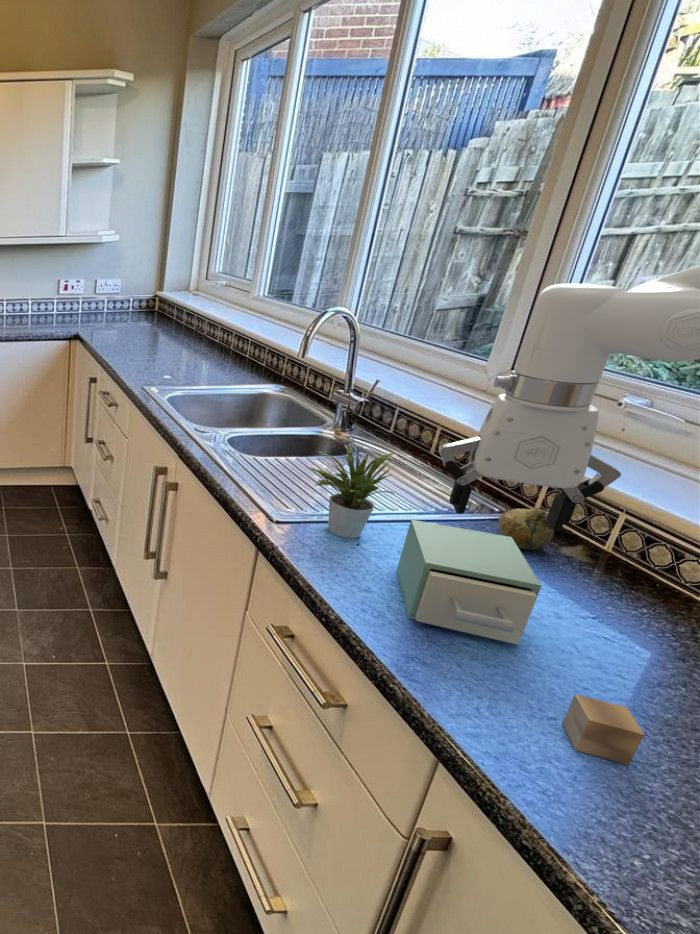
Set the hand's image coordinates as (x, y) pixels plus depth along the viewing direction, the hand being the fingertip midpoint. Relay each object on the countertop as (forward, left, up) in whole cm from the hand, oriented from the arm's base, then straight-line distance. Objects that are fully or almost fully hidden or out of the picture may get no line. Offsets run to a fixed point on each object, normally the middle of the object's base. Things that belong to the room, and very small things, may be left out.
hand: (504, 517), depth 80 cm
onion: (-14, -35, -19) cm, 43 cm away
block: (-9, +17, -19) cm, 27 cm away
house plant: (+13, -28, -19) cm, 37 cm away
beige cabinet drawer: (0, -4, -18) cm, 18 cm away
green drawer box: (0, -8, -19) cm, 21 cm away
